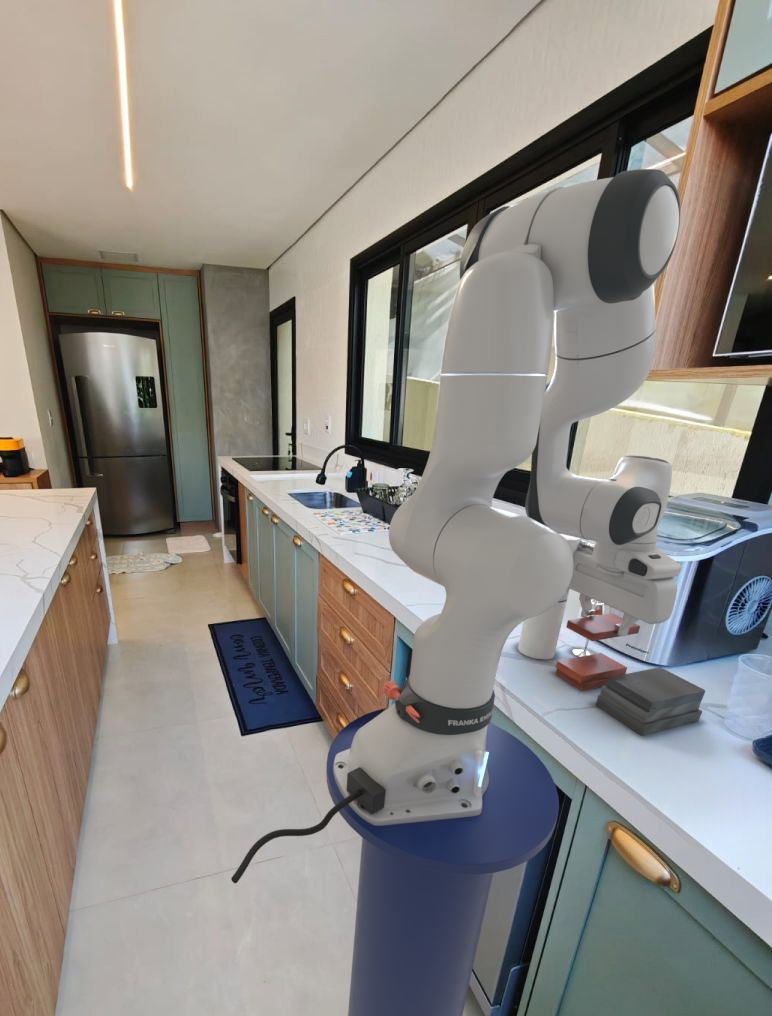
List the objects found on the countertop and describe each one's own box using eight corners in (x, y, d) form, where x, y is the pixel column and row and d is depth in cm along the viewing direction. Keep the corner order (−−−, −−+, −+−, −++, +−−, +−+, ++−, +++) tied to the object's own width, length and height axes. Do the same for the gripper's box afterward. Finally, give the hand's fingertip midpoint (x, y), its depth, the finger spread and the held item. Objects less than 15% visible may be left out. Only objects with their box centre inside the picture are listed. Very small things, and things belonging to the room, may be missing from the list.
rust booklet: (592, 641, 88) (594, 633, 87) (565, 627, 93) (567, 620, 92) (638, 633, 91) (640, 626, 91) (610, 620, 96) (612, 613, 96)
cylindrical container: (531, 660, 101) (556, 540, 92) (511, 644, 108) (533, 530, 98) (561, 657, 103) (590, 539, 94) (540, 642, 109) (564, 529, 100)
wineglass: (581, 645, 109) (594, 593, 104) (605, 657, 104) (620, 603, 99) (562, 650, 106) (575, 597, 102) (586, 662, 101) (600, 607, 97)
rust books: (579, 691, 91) (583, 677, 90) (553, 674, 97) (556, 660, 96) (624, 682, 95) (628, 668, 94) (597, 666, 100) (600, 652, 99)
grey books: (641, 736, 79) (651, 704, 77) (595, 705, 87) (603, 675, 85) (698, 721, 84) (710, 691, 81) (649, 693, 91) (658, 664, 89)
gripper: (561, 539, 95) (547, 606, 100) (663, 573, 77) (639, 653, 82) (587, 536, 97) (572, 603, 102) (692, 569, 79) (667, 648, 84)
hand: (603, 626), depth 92 cm, fingers closed on rust booklet, 6 cm apart
